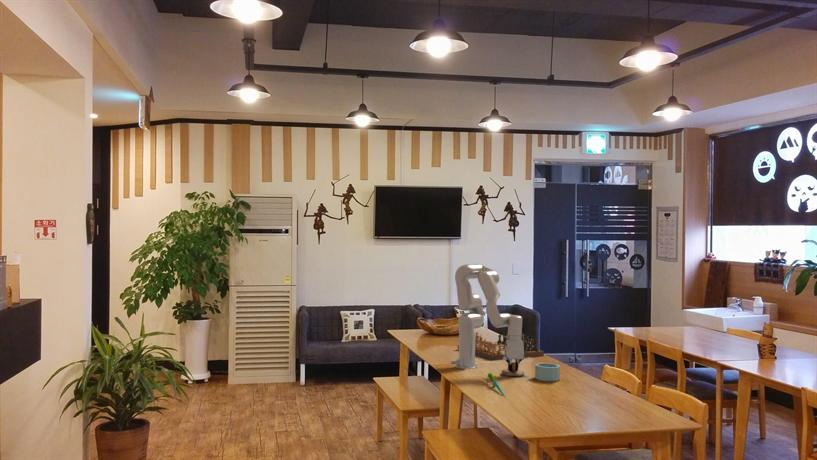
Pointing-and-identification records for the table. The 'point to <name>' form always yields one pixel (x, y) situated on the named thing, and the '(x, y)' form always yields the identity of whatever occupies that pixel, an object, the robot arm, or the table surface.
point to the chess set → (503, 348)
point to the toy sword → (495, 382)
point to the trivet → (513, 376)
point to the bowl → (547, 372)
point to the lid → (513, 371)
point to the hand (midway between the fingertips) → (512, 370)
